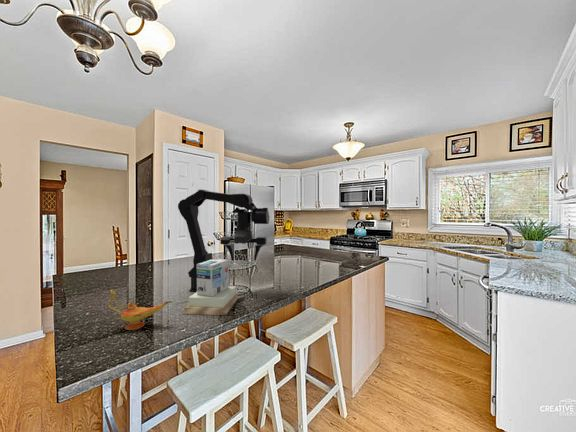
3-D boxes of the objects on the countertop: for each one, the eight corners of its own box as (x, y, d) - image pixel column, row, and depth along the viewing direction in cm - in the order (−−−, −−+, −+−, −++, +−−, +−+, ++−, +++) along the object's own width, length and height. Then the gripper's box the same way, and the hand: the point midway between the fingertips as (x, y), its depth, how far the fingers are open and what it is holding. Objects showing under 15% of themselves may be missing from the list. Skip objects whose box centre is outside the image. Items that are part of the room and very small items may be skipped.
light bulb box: (212, 297, 86) (212, 265, 86) (196, 295, 89) (195, 263, 88) (229, 287, 97) (229, 259, 96) (214, 286, 99) (213, 258, 98)
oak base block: (184, 316, 85) (184, 307, 85) (202, 299, 101) (202, 292, 101) (226, 317, 84) (226, 308, 84) (238, 300, 100) (238, 292, 100)
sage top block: (188, 306, 86) (188, 297, 86) (206, 292, 100) (206, 285, 100) (223, 307, 85) (223, 298, 85) (236, 294, 99) (236, 286, 99)
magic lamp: (169, 328, 74) (169, 291, 74) (101, 333, 72) (100, 293, 71) (175, 318, 81) (175, 284, 81) (113, 322, 78) (113, 286, 78)
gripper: (216, 224, 100) (216, 264, 100) (263, 225, 99) (263, 265, 100) (224, 223, 111) (224, 259, 112) (267, 223, 110) (267, 259, 111)
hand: (244, 260), depth 108 cm, fingers open, 9 cm apart
